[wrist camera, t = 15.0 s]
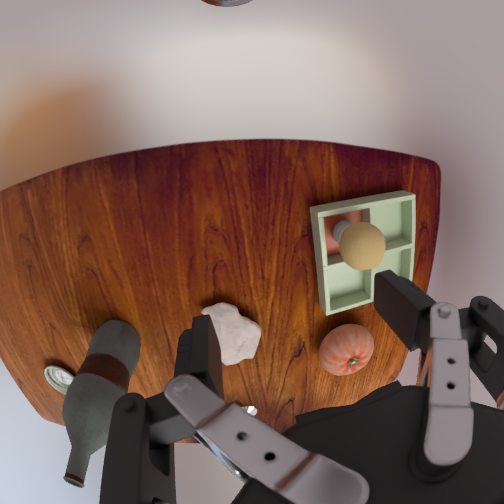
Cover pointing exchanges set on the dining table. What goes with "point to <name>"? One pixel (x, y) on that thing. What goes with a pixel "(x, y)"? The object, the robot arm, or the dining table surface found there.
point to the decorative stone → (233, 333)
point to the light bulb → (359, 244)
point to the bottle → (98, 393)
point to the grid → (328, 253)
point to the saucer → (58, 378)
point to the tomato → (346, 349)
